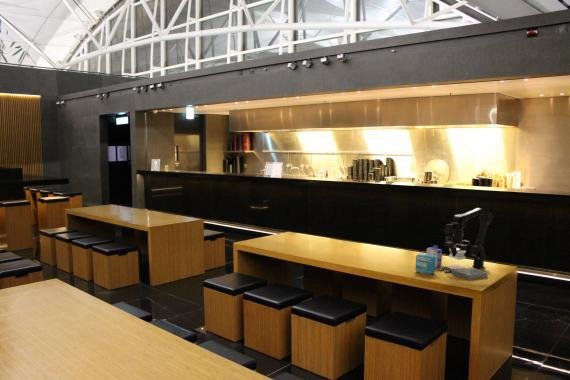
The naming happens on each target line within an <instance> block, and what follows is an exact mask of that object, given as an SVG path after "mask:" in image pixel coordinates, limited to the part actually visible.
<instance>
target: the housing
mask: <svg viewBox="0 0 570 380" xmlns="http://www.w3.org/2000/svg"><path fill="white" fill-rule="evenodd" d="M448 248H449V247H448ZM448 251H449V252H450V254H449V255H448V257H449V258H452V259H455V260H458V261H459V260H460V261H461V260H466V256H465V254H466V251H467V250H466V249H465V250H463V249H460V247H457V249H456V253H455V256H454V257H453V255H452V252H451V249H450V248H449V250H448Z"/></svg>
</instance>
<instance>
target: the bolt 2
mask: <svg viewBox="0 0 570 380" xmlns="http://www.w3.org/2000/svg"><path fill="white" fill-rule="evenodd" d="M452 270H453V269H450V270H446V269H445V270H443V271H444V273H445V274H447V273H452Z"/></svg>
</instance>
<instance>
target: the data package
mask: <svg viewBox="0 0 570 380" xmlns="http://www.w3.org/2000/svg"><path fill="white" fill-rule="evenodd" d="M435 260H436V258H435V256H433V255H427V253H418V254H416V255H415V269H414V270H415V271H416V272H417V273H419V274H420V273H421V274H427V275H433V274H435V273H436V267H435Z"/></svg>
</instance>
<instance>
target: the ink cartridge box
mask: <svg viewBox="0 0 570 380" xmlns="http://www.w3.org/2000/svg"><path fill="white" fill-rule="evenodd" d="M426 255H433V256H435V258H436V260H435V268H441V267H442V261H443V249H441V248H439V247H438V245H435V244H434V245H433V246H432V247H427V248H426Z"/></svg>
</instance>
